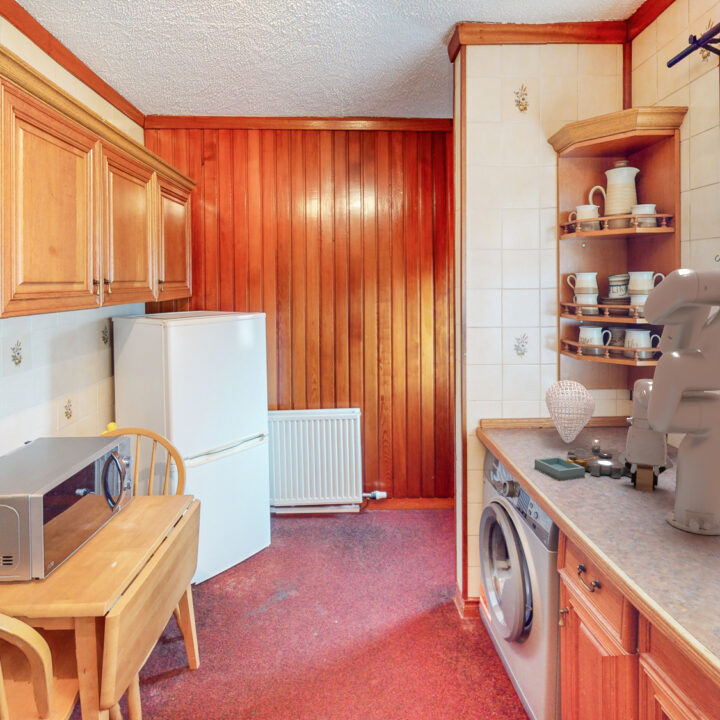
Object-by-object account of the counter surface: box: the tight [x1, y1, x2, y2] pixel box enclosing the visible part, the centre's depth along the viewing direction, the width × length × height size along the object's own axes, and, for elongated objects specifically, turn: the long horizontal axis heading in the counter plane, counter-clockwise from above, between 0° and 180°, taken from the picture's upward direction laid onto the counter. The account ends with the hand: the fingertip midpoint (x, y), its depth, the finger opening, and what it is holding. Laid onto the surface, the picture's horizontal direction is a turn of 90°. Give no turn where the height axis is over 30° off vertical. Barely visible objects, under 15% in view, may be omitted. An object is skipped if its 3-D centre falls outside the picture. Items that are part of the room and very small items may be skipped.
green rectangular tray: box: [534, 456, 586, 482], centre depth 167 cm, size 12×9×4 cm
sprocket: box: [566, 438, 637, 479], centre depth 172 cm, size 22×22×7 cm
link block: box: [635, 464, 654, 493], centre depth 154 cm, size 7×4×6 cm, turn 153°
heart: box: [545, 379, 596, 444], centre depth 200 cm, size 28×16×22 cm, turn 165°
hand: (644, 486), depth 154 cm, fingers closed on link block, 4 cm apart
